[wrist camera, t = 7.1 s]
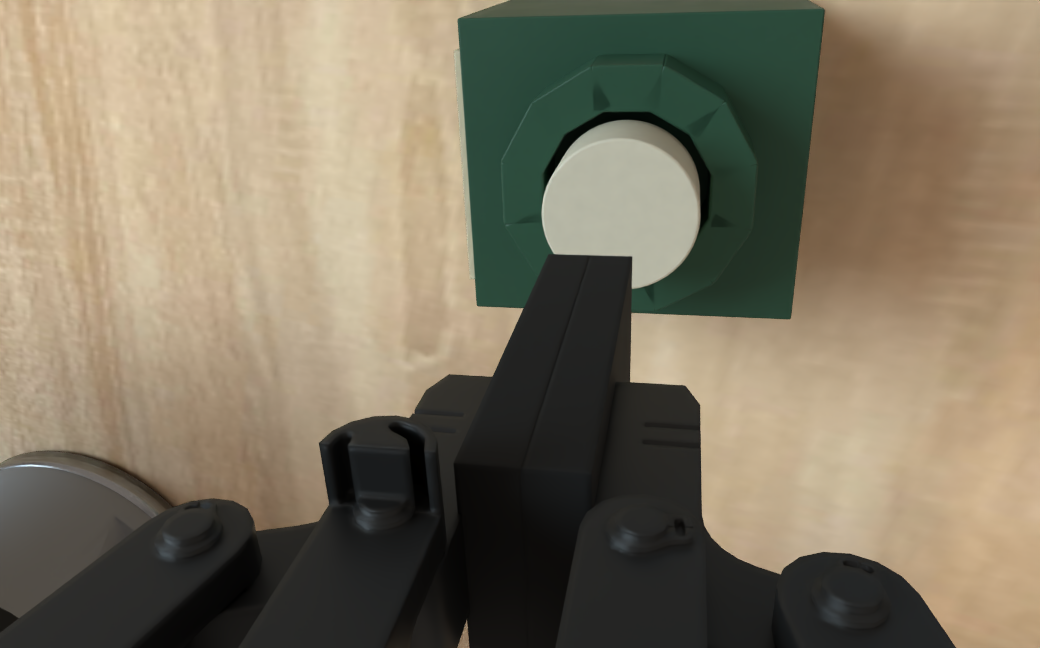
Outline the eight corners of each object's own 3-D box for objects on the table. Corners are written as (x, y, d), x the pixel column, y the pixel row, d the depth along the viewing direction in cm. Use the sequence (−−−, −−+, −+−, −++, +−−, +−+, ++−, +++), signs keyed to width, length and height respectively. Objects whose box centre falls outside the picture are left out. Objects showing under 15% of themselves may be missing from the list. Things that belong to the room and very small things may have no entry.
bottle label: (502, 228, 32) (469, 279, 27) (492, 32, 29) (453, 50, 24) (507, 229, 32) (475, 279, 27) (498, 31, 29) (460, 50, 24)
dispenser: (520, 231, 34) (459, 335, 25) (511, -1, 30) (435, 25, 21) (770, 237, 32) (799, 352, 23) (793, -10, 28) (838, 15, 20)
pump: (556, 257, 24) (543, 288, 22) (553, 119, 22) (538, 138, 20) (696, 261, 23) (696, 293, 21) (704, 118, 22) (705, 138, 19)
